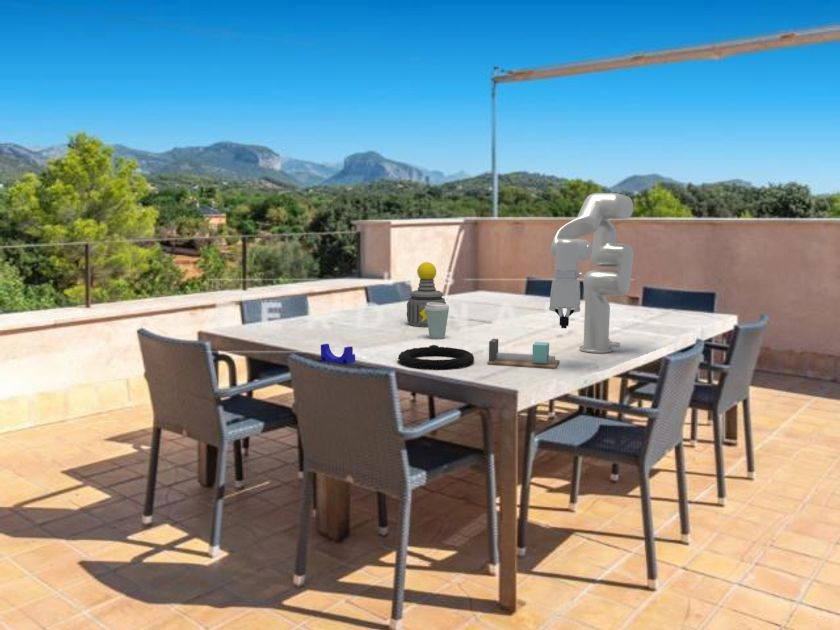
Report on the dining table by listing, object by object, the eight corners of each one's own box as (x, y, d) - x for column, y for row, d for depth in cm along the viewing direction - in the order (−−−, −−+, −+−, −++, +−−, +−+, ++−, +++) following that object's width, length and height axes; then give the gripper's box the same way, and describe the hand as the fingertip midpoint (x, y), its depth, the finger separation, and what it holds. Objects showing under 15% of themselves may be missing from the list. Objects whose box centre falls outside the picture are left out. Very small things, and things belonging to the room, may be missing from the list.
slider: (548, 360, 264) (549, 342, 263) (546, 363, 259) (547, 345, 258) (534, 359, 266) (535, 341, 265) (532, 362, 260) (532, 344, 259)
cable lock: (397, 360, 252) (397, 344, 281) (397, 371, 252) (397, 354, 282) (478, 360, 252) (469, 344, 282) (478, 371, 253) (469, 354, 283)
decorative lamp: (404, 327, 346) (404, 263, 342) (409, 321, 364) (409, 260, 360) (444, 328, 344) (445, 263, 339) (447, 322, 362) (448, 261, 358)
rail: (555, 362, 262) (555, 356, 262) (554, 363, 260) (554, 357, 259) (496, 358, 268) (496, 352, 268) (495, 360, 266) (495, 353, 265)
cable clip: (355, 362, 265) (355, 346, 264) (347, 364, 261) (347, 347, 261) (328, 359, 271) (328, 342, 270) (320, 361, 267) (320, 344, 267)
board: (559, 362, 266) (559, 360, 266) (555, 369, 255) (555, 366, 255) (493, 358, 273) (493, 356, 273) (487, 364, 262) (487, 362, 262)
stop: (498, 357, 270) (498, 338, 269) (494, 361, 263) (494, 342, 263) (492, 357, 271) (493, 338, 270) (488, 361, 264) (489, 341, 263)
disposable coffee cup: (451, 336, 320) (452, 302, 318) (446, 340, 310) (446, 305, 308) (428, 335, 323) (428, 301, 321) (421, 339, 313) (421, 304, 311)
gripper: (588, 275, 257) (586, 327, 259) (545, 274, 261) (543, 325, 263) (587, 277, 250) (584, 330, 252) (542, 275, 254) (540, 328, 256)
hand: (563, 327), depth 258 cm, fingers closed
